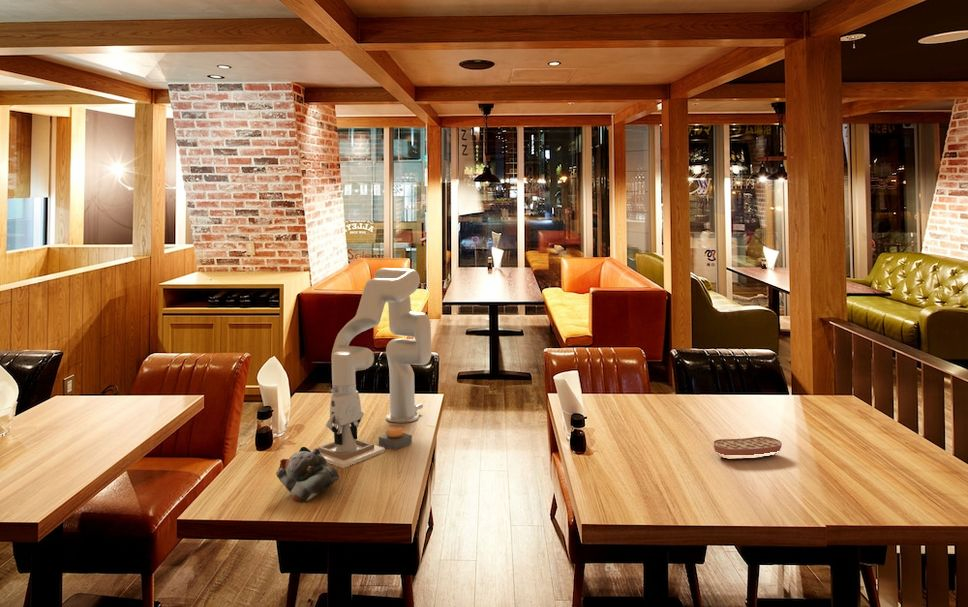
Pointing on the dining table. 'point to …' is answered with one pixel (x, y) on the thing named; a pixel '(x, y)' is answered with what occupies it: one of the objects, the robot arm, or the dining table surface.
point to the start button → (395, 432)
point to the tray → (352, 457)
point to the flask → (346, 440)
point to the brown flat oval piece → (747, 446)
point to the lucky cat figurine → (306, 474)
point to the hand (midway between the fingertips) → (346, 440)
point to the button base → (395, 441)
